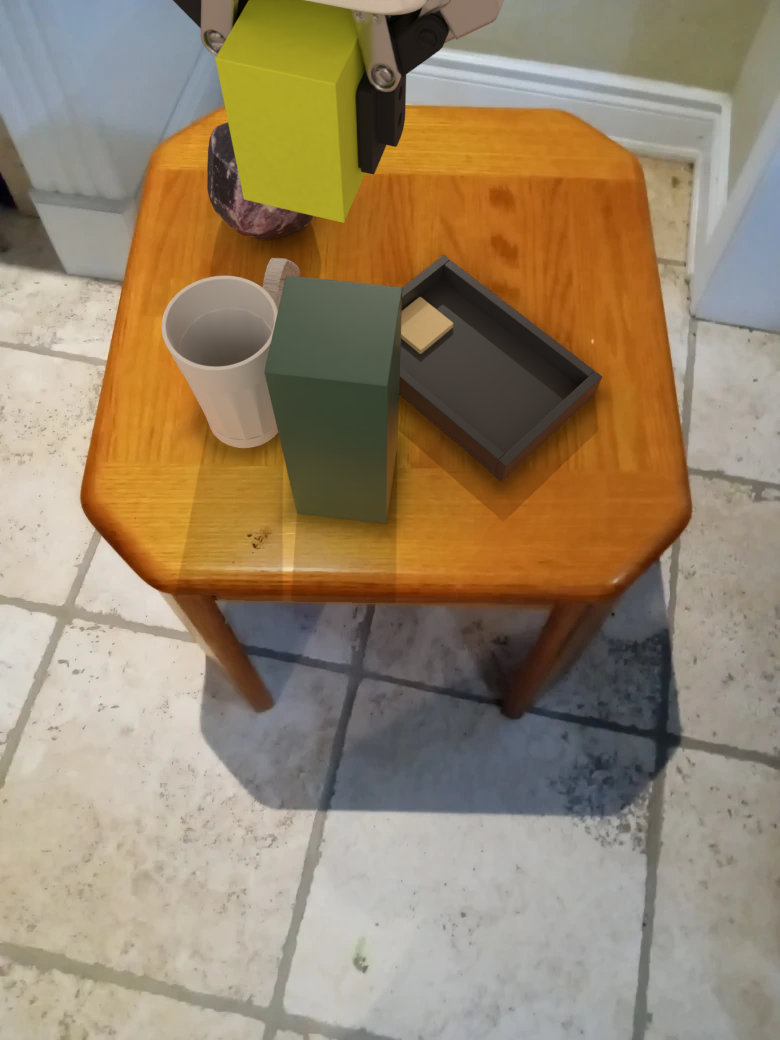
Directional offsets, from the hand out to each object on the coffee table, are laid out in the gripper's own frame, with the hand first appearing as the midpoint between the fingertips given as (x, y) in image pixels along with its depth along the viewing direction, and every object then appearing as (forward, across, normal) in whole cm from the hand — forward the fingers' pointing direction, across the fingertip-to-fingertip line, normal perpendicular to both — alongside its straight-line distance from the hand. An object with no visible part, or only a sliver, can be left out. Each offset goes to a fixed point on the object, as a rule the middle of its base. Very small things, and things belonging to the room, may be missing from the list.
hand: (318, 133), depth 35 cm
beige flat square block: (+32, -2, -15) cm, 35 cm away
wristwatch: (+33, +11, -14) cm, 37 cm away
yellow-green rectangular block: (+1, 0, 0) cm, 1 cm away
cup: (+33, +10, -3) cm, 34 cm away
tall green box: (+32, 0, 0) cm, 32 cm away
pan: (+32, -7, -12) cm, 35 cm away
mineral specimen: (+33, +15, -24) cm, 43 cm away
